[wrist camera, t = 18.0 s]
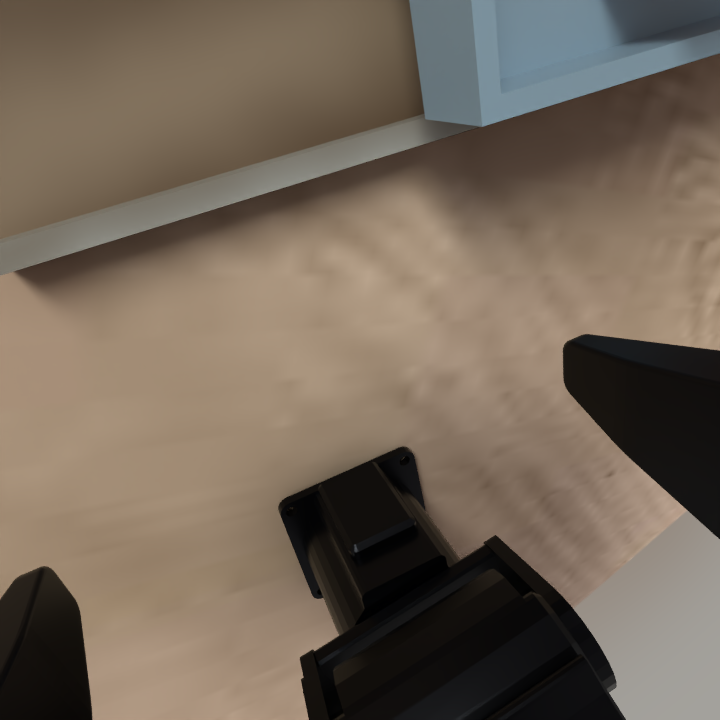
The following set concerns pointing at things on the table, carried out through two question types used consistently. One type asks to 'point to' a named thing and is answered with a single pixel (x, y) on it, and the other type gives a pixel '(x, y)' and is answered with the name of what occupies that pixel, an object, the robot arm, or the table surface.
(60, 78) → the track
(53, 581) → the robot arm
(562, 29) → the cart
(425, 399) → the table surface
